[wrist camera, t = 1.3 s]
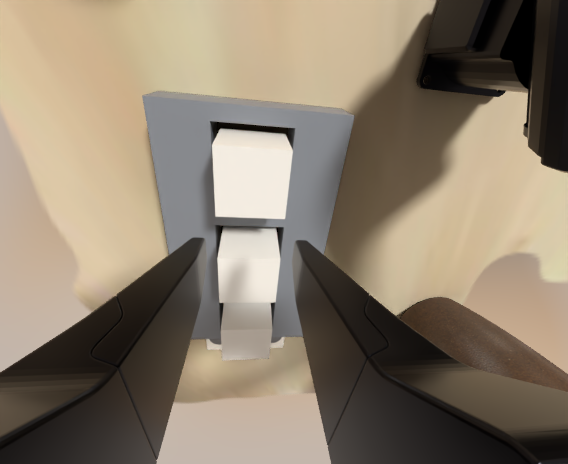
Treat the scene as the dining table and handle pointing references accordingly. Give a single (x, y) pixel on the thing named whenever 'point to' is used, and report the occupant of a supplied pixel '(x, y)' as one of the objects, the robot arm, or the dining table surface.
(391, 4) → the dining table surface
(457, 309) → the plant pot
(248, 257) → the button middle
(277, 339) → the pattern card
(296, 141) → the button board
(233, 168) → the button
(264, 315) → the button
